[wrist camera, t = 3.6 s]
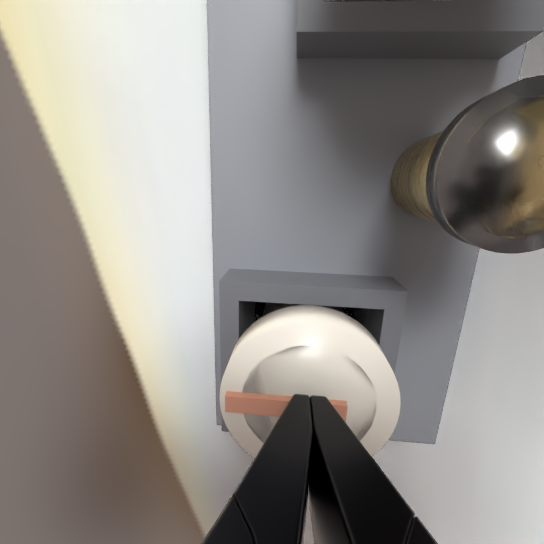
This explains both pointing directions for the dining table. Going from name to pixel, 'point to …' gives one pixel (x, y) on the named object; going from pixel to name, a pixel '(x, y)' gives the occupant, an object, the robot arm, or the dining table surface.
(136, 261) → the dining table surface
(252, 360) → the knob
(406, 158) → the metal knob
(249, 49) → the mount
